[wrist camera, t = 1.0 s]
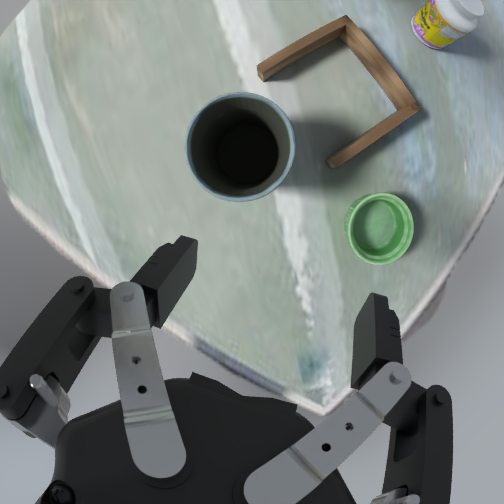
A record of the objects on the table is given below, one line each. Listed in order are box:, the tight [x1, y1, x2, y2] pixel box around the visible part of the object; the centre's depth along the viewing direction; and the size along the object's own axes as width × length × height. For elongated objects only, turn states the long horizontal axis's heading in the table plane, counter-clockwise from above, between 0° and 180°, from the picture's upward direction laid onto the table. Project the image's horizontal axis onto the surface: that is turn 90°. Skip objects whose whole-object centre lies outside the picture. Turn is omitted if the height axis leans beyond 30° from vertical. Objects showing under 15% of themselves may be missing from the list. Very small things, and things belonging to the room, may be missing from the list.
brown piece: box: [257, 15, 421, 168], centre depth 33 cm, size 15×14×4 cm
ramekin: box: [345, 193, 414, 265], centre depth 37 cm, size 9×9×4 cm
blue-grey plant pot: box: [185, 92, 296, 202], centre depth 32 cm, size 10×10×12 cm
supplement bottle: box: [411, 0, 484, 49], centre depth 24 cm, size 7×7×13 cm
